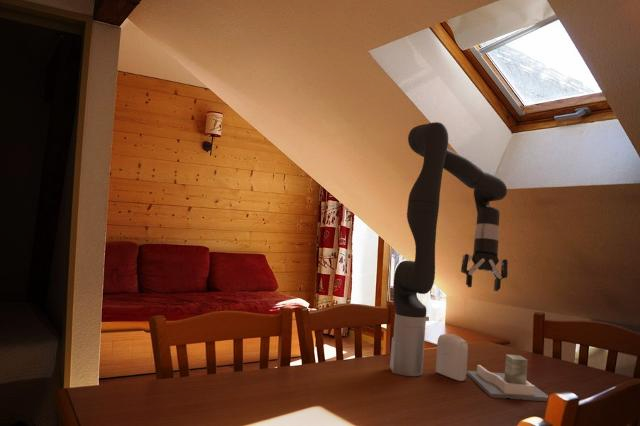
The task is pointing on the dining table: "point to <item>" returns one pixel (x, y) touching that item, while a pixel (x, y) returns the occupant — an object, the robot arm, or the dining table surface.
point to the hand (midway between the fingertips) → (482, 289)
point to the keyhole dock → (505, 386)
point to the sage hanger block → (515, 369)
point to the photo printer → (452, 356)
